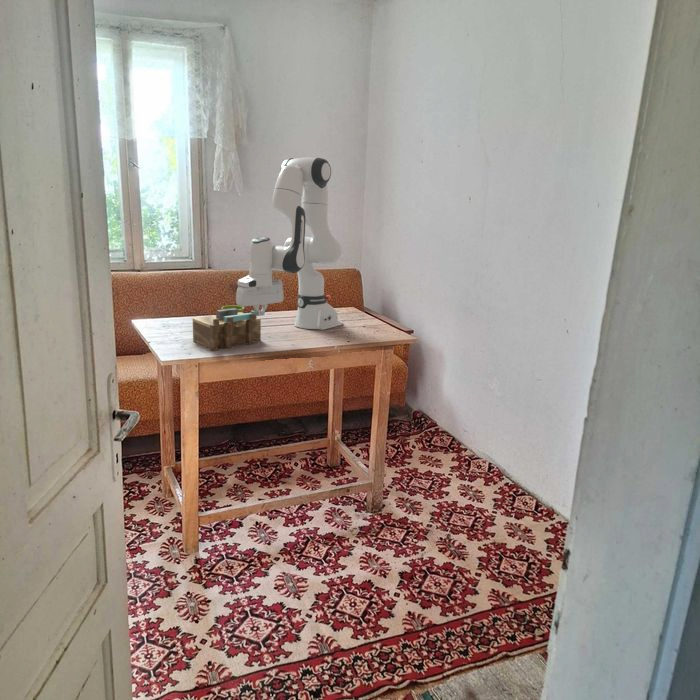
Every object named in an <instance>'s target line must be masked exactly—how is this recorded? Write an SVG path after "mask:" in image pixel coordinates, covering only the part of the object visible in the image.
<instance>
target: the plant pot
mask: <svg viewBox="0 0 700 700" xmlns="http://www.w3.org/2000/svg"><path fill="white" fill-rule="evenodd" d="M231 308H235V309H237V313H239V312H242V313H244V309H245V307H241V306H238V305H237V304H236V305H232V304H231V305H224V306H221V310H223V309H231Z"/></svg>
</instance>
